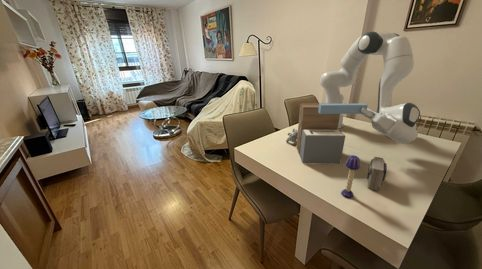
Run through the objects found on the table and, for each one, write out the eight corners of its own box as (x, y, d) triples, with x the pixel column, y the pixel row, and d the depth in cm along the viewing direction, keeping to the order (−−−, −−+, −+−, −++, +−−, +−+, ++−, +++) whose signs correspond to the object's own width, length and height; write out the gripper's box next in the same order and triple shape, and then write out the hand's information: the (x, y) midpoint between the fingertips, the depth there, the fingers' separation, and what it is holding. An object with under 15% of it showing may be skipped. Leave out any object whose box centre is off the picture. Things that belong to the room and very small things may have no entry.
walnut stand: (296, 147, 115) (300, 103, 106) (328, 147, 114) (335, 103, 104) (298, 153, 108) (303, 107, 98) (333, 154, 106) (341, 107, 97)
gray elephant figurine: (284, 144, 120) (285, 133, 117) (289, 136, 130) (290, 125, 127) (300, 147, 117) (301, 135, 113) (304, 138, 126) (305, 127, 123)
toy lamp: (349, 200, 74) (358, 161, 67) (337, 194, 77) (344, 156, 71) (355, 195, 76) (364, 157, 70) (343, 189, 80) (351, 152, 73)
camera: (366, 174, 89) (371, 154, 85) (382, 178, 86) (388, 158, 82) (364, 188, 80) (369, 166, 76) (381, 193, 77) (387, 171, 73)
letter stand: (299, 155, 106) (302, 129, 100) (334, 156, 105) (339, 129, 99) (302, 163, 99) (305, 135, 93) (340, 164, 97) (345, 135, 92)
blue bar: (318, 112, 94) (319, 103, 92) (362, 111, 92) (364, 103, 91) (319, 113, 91) (321, 105, 90) (365, 113, 89) (367, 104, 88)
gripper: (375, 110, 100) (353, 96, 98) (403, 123, 81) (375, 107, 80) (366, 120, 102) (345, 107, 101) (391, 135, 83) (364, 120, 82)
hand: (358, 107), depth 90 cm, fingers closed on blue bar, 3 cm apart
